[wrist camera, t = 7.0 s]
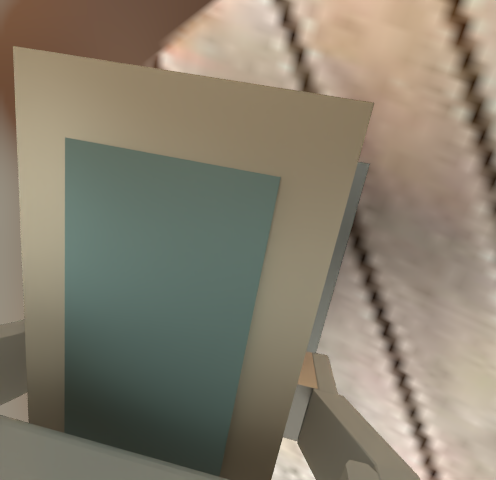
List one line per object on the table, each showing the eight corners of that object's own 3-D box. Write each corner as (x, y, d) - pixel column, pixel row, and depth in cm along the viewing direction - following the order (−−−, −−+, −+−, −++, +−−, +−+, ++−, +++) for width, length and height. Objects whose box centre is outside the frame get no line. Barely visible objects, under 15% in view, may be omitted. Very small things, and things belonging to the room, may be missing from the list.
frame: (159, 117, 9) (-1, 39, 4) (322, 145, 8) (379, 99, 3) (126, 508, 14) (34, 701, 9) (228, 539, 13) (195, 761, 8)
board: (363, 164, 21) (404, 158, 14) (302, 384, 27) (309, 458, 20) (176, 131, 23) (127, 111, 16) (154, 347, 28) (111, 405, 21)
